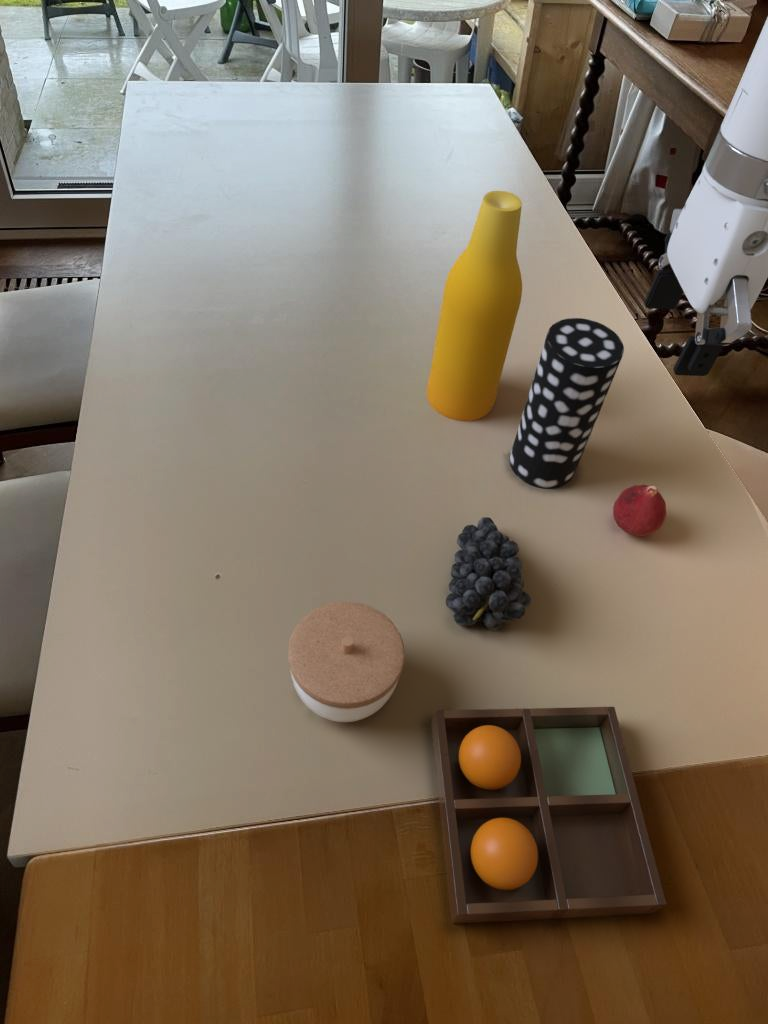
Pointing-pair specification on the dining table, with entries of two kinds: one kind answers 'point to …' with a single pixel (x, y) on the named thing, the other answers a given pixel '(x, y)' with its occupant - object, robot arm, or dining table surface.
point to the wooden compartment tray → (549, 817)
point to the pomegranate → (640, 510)
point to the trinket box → (345, 660)
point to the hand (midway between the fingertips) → (673, 338)
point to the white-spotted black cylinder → (564, 401)
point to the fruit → (486, 578)
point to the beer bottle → (478, 314)
